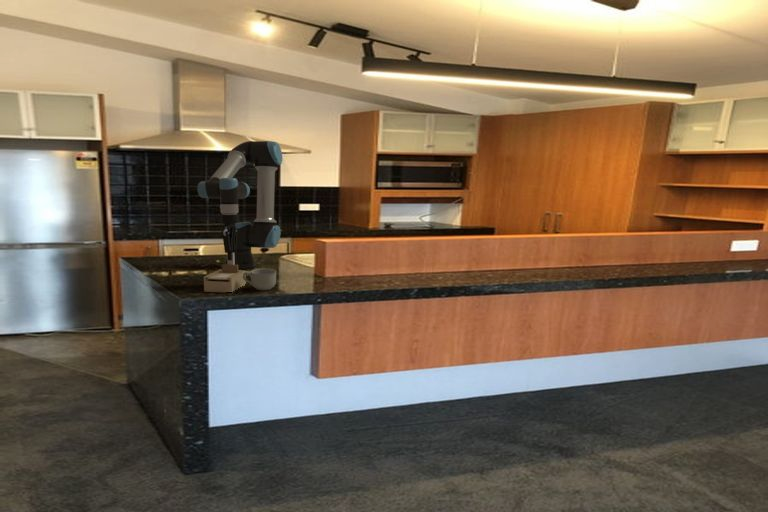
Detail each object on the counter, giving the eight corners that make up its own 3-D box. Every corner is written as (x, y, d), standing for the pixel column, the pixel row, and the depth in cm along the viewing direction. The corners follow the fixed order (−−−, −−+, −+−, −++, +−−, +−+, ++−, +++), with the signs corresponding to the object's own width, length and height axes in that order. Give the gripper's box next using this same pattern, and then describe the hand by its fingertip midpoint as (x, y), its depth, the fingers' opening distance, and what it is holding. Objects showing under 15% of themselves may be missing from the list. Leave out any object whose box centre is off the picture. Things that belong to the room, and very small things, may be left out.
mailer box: (220, 283, 236) (219, 269, 235) (246, 284, 235) (245, 270, 234) (204, 291, 220) (203, 276, 219) (231, 292, 219) (231, 277, 218)
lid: (220, 272, 234) (220, 263, 233) (242, 273, 232) (241, 264, 232) (207, 279, 220) (206, 269, 219) (229, 279, 219) (229, 270, 218)
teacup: (278, 286, 232) (278, 268, 231) (274, 291, 222) (274, 273, 220) (246, 285, 232) (246, 268, 230) (240, 291, 221) (240, 273, 220)
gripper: (227, 212, 235) (228, 264, 239) (214, 214, 223) (216, 269, 227) (243, 212, 235) (244, 264, 238) (231, 215, 222) (233, 270, 226)
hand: (231, 267), depth 232 cm, fingers closed
